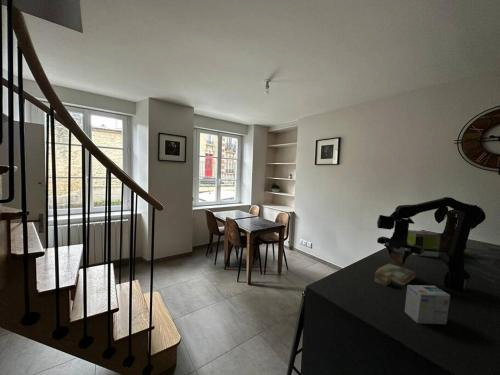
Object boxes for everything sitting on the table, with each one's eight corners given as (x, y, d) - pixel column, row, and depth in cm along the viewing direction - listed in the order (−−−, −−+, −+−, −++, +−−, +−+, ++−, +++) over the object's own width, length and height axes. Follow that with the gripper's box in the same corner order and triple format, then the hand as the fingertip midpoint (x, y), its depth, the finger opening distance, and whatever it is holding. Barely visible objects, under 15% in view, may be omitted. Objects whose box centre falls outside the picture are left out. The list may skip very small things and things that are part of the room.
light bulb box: (430, 312, 82) (434, 284, 82) (447, 325, 76) (451, 295, 75) (403, 311, 82) (406, 283, 81) (417, 324, 75) (421, 294, 74)
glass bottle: (469, 254, 151) (475, 214, 149) (458, 258, 142) (464, 216, 140) (437, 246, 166) (442, 209, 164) (426, 249, 158) (431, 210, 155)
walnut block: (404, 264, 110) (406, 254, 109) (401, 266, 107) (402, 256, 106) (393, 260, 114) (394, 251, 113) (389, 262, 111) (390, 253, 110)
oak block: (390, 283, 103) (391, 273, 103) (385, 286, 100) (387, 275, 100) (378, 278, 107) (380, 268, 107) (374, 281, 104) (375, 271, 104)
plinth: (414, 277, 110) (415, 271, 110) (404, 285, 102) (405, 278, 102) (388, 268, 120) (388, 262, 120) (376, 274, 111) (377, 268, 111)
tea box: (427, 252, 152) (430, 231, 150) (438, 257, 142) (441, 235, 140) (404, 249, 153) (407, 229, 152) (413, 255, 143) (416, 233, 142)
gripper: (374, 228, 111) (370, 258, 113) (418, 238, 97) (414, 272, 98) (383, 225, 118) (380, 253, 119) (426, 235, 103) (422, 267, 105)
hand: (397, 261), depth 110 cm, fingers closed on walnut block, 5 cm apart
